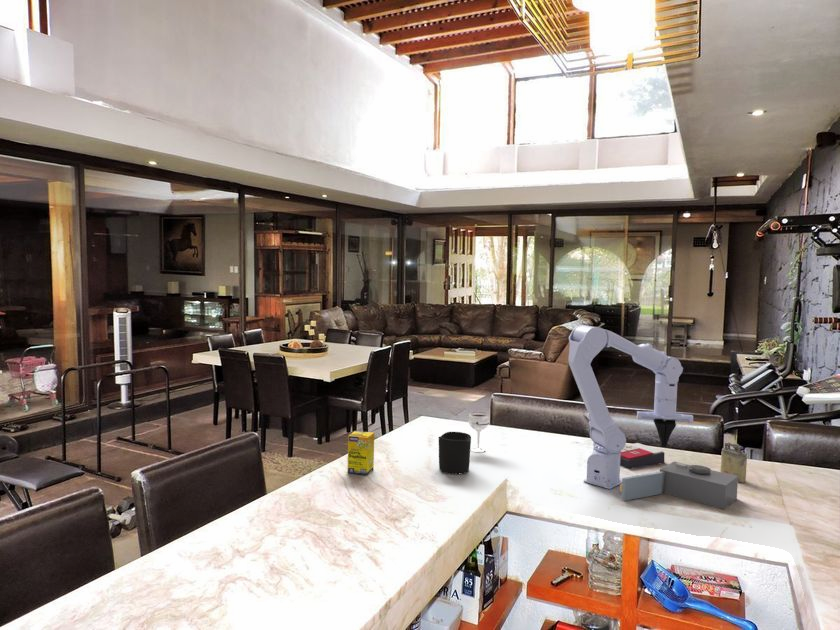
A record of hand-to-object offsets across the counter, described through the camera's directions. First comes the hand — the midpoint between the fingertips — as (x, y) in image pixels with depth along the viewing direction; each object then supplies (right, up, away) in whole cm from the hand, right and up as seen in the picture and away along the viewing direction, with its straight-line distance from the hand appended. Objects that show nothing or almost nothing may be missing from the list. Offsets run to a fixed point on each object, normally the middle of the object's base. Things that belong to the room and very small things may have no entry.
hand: (663, 446), depth 160 cm
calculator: (-2, -9, +17) cm, 19 cm away
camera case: (+4, -10, -12) cm, 16 cm away
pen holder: (-59, -8, +5) cm, 60 cm away
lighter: (+20, -10, +2) cm, 23 cm away
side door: (-11, -10, -14) cm, 20 cm away
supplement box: (-86, -8, +2) cm, 86 cm away
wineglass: (-50, -7, +24) cm, 56 cm away
